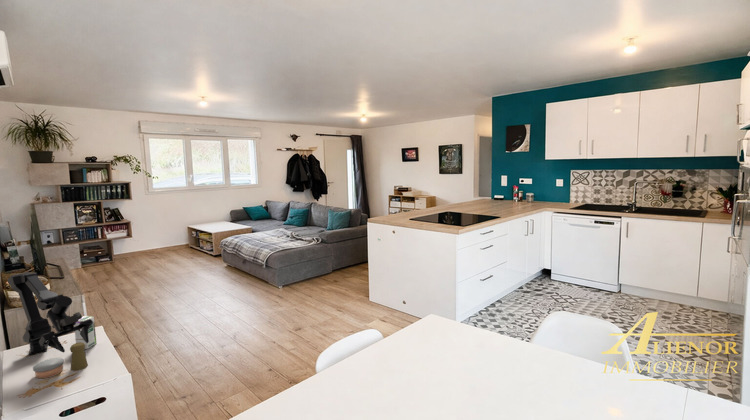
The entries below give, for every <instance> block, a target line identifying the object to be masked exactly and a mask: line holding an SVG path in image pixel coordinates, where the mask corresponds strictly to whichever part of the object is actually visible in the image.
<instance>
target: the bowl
mask: <svg viewBox="0 0 750 420" xmlns="http://www.w3.org/2000/svg"><path fill="white" fill-rule="evenodd" d="M63 370H64V363H63V364H62V365H61V366H59V367H57V368H55V369H52V370H49V371H45V372H35V371H34V376H35V378H37V379H47V378H51V377H54V376H57V375H59V374H60V373H61V372H62V371H63Z"/></svg>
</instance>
